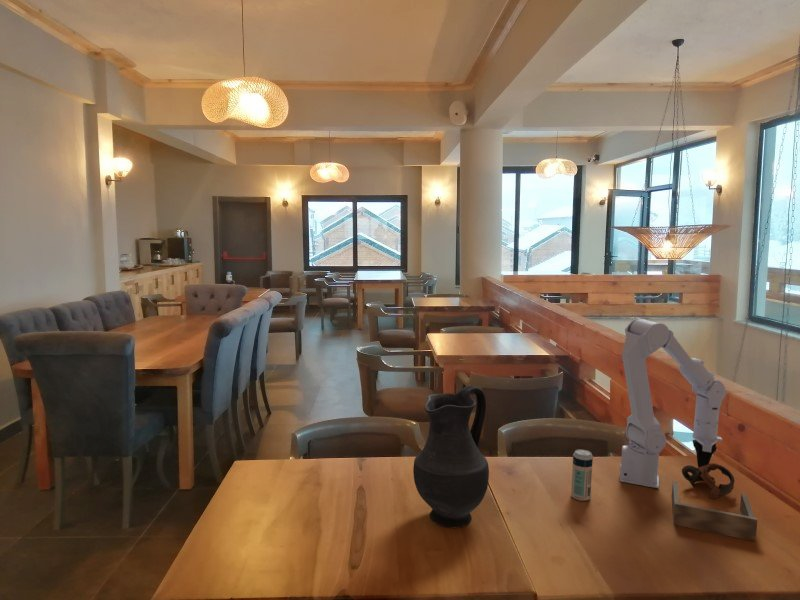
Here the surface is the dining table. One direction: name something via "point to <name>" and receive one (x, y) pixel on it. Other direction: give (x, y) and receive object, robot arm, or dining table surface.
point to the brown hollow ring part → (709, 478)
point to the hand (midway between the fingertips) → (702, 467)
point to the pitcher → (453, 458)
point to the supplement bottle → (581, 475)
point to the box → (715, 518)
